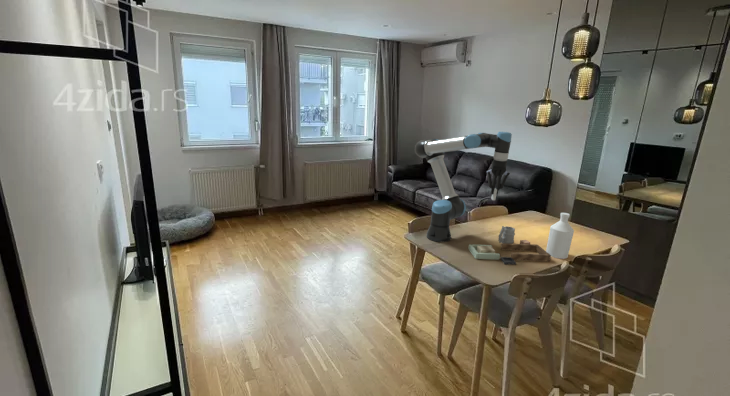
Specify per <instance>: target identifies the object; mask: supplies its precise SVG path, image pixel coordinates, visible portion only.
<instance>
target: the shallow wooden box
mask: <svg viewBox="0 0 730 396" xmlns="http://www.w3.org/2000/svg"><path fill="white" fill-rule="evenodd" d="M500 247H501V248H500V250H501V251H522V253H521V252H520V253H519V252H511V255H510V257H511V258H512V259H513V260H514V261H529V262H531V261H533V262H534V261H535V262H550V261H551V258H552V256H551V255H550V254H549V253H547V252H546V249H544V248H543V247H541V246H540V245H539V244H534V243H533V244H531V243H530V244H520V243H513V244H506V243H501V246H500ZM523 251H527V252H528V251H531V252H536V253H525V252H524V253H523Z"/></svg>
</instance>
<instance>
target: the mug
mask: <svg viewBox="0 0 730 396" xmlns="http://www.w3.org/2000/svg"><path fill="white" fill-rule="evenodd" d="M515 231H516V228H514V227H512V226H506V225H505V226H504V225H501V230H500V232H499V234H498V237H497V239H498V243H501V244H502V243H506V244H515V243H514V242H515V235H516V233H515Z"/></svg>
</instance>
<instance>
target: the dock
mask: <svg viewBox="0 0 730 396" xmlns="http://www.w3.org/2000/svg"><path fill="white" fill-rule="evenodd" d="M477 246H491V247H492V248H493V245H491V244H471V243H470V244H468V247H467V248H468V251H469V252H470V253H471V255H472V256H473V257H474V259H475V260H500V257H501V255H500V253H497V252H495V253H478V252H477Z"/></svg>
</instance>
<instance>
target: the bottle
mask: <svg viewBox="0 0 730 396" xmlns="http://www.w3.org/2000/svg"><path fill="white" fill-rule="evenodd" d="M559 215H560V219H559V221H556V222H555V223H554V224H552V225H550V228H549V232H548V233H549V234H548V238H547V245H546V249H545V251H546V252H547V253H549V254H550V255H551V258H554V259H560V260H561V259H564V260H565V259H567V258H569V254H570V249H571V245H572V241H573V237H574V232H575V230H574V228H573V227H572V225H571V224H570V223H569V218H570V217H571V214H570V213H568V212H560V214H559Z"/></svg>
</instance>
